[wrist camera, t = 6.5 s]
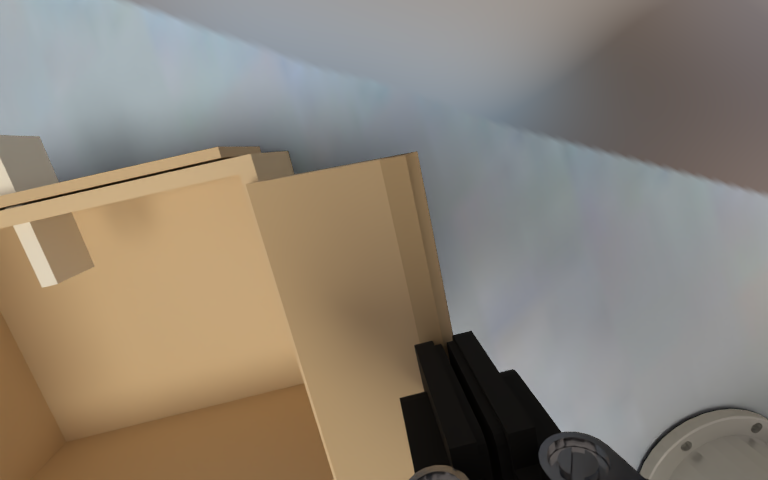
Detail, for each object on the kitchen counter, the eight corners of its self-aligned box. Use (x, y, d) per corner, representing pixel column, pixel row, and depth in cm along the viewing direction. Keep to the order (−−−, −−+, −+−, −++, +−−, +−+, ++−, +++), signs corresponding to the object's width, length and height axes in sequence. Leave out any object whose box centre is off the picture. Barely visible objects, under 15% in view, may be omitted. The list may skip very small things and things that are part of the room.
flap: (245, 184, 14) (257, 181, 14) (336, 482, 17) (345, 473, 17) (404, 154, 9) (417, 151, 10) (488, 565, 13) (495, 550, 13)
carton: (274, 102, 22) (226, 73, 14) (351, 381, 27) (352, 495, 18) (-68, 178, 22) (-347, 200, 13) (70, 451, 26) (-69, 603, 17)
